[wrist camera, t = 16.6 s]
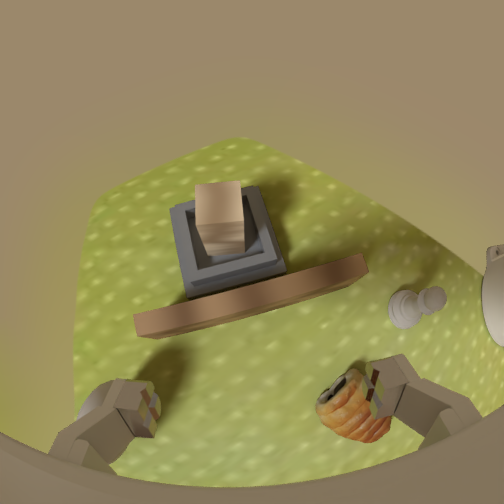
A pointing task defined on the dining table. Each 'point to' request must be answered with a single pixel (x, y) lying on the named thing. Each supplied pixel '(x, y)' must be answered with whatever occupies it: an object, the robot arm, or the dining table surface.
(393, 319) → the chess piece
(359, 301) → the dining table surface
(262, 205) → the seat block
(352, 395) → the pastry
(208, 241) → the block
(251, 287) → the door edge
